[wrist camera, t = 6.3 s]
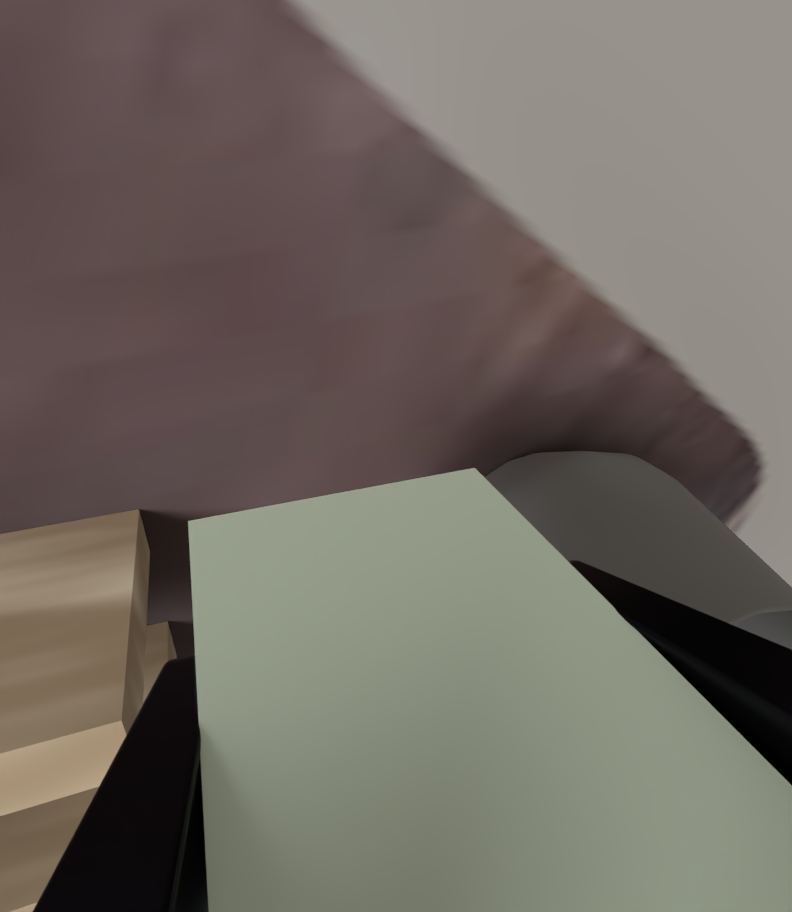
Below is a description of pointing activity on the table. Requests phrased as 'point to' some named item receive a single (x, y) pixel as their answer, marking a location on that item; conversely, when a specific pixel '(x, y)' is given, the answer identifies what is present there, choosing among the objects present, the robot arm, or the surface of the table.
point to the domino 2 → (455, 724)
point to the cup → (646, 535)
